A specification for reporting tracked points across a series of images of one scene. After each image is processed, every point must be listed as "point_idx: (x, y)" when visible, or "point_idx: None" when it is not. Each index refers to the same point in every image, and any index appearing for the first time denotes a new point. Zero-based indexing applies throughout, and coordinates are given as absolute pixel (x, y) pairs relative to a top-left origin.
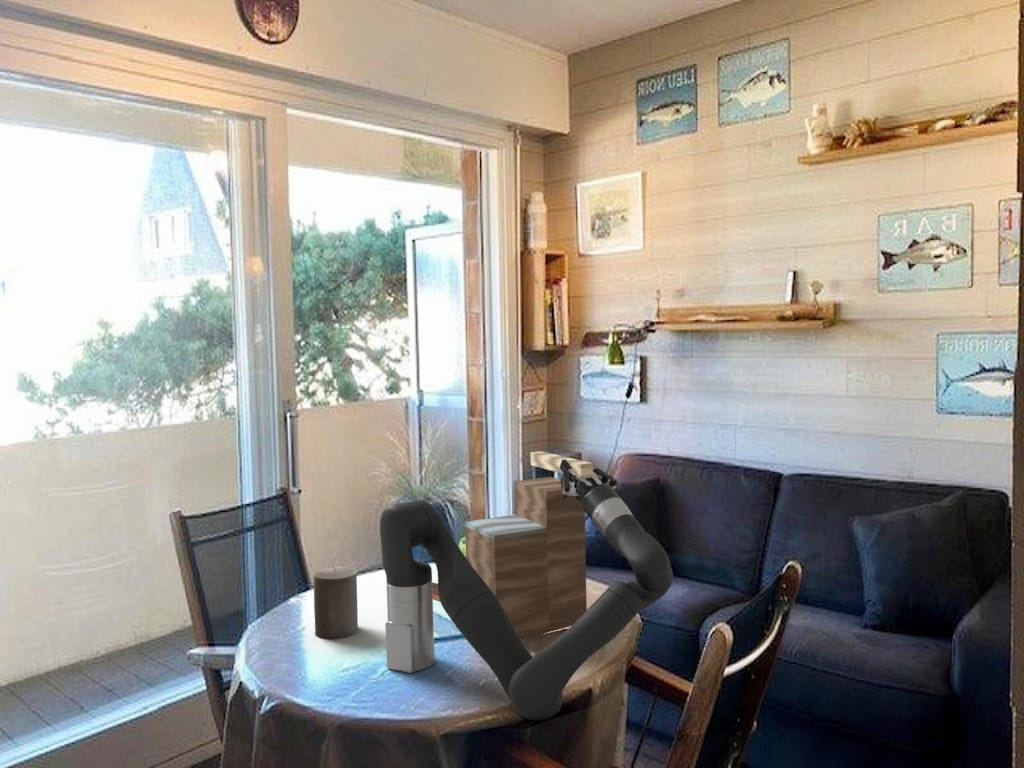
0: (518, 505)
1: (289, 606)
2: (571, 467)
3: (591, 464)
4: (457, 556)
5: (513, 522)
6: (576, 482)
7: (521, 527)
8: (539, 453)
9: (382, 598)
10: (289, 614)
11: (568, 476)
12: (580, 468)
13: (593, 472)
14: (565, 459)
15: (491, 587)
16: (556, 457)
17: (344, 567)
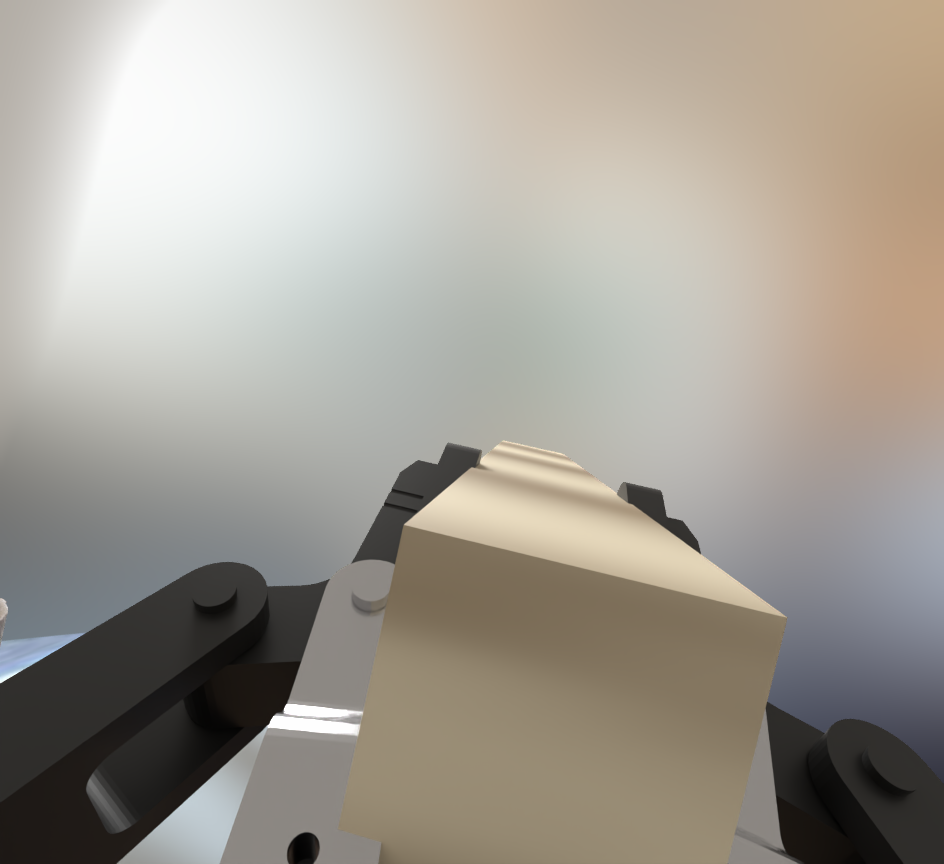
0: None
1: (74, 638)
2: None
3: (736, 641)
4: None
5: (253, 743)
6: (305, 861)
7: (151, 832)
8: (519, 446)
9: None
10: (22, 656)
11: (160, 676)
12: (388, 623)
13: (773, 812)
14: (475, 449)
15: None
16: (519, 457)
17: (2, 609)
